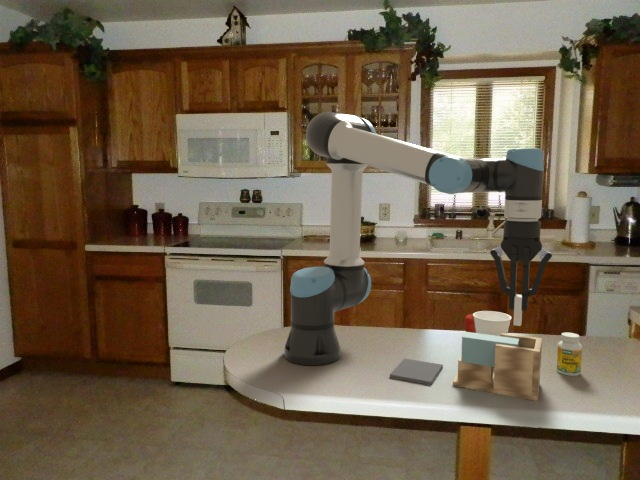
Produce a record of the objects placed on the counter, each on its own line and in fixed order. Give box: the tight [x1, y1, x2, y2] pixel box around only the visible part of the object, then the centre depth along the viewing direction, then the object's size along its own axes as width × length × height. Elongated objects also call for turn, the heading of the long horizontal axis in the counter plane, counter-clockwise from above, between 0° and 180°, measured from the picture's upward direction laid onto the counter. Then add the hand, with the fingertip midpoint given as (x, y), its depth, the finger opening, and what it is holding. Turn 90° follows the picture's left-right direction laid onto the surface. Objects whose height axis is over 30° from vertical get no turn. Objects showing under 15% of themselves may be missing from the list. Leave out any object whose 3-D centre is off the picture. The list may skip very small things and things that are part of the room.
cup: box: [472, 310, 512, 336], centre depth 135 cm, size 10×10×11 cm
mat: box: [389, 357, 444, 386], centre depth 123 cm, size 10×12×1 cm
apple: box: [464, 313, 476, 333], centre depth 148 cm, size 6×6×8 cm
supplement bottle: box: [556, 332, 583, 377], centre depth 123 cm, size 5×5×10 cm
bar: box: [460, 331, 519, 368], centre depth 116 cm, size 12×4×6 cm, turn 64°
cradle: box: [452, 333, 543, 402], centre depth 115 cm, size 18×10×11 cm, turn 64°
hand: (517, 323), depth 112 cm, fingers closed
